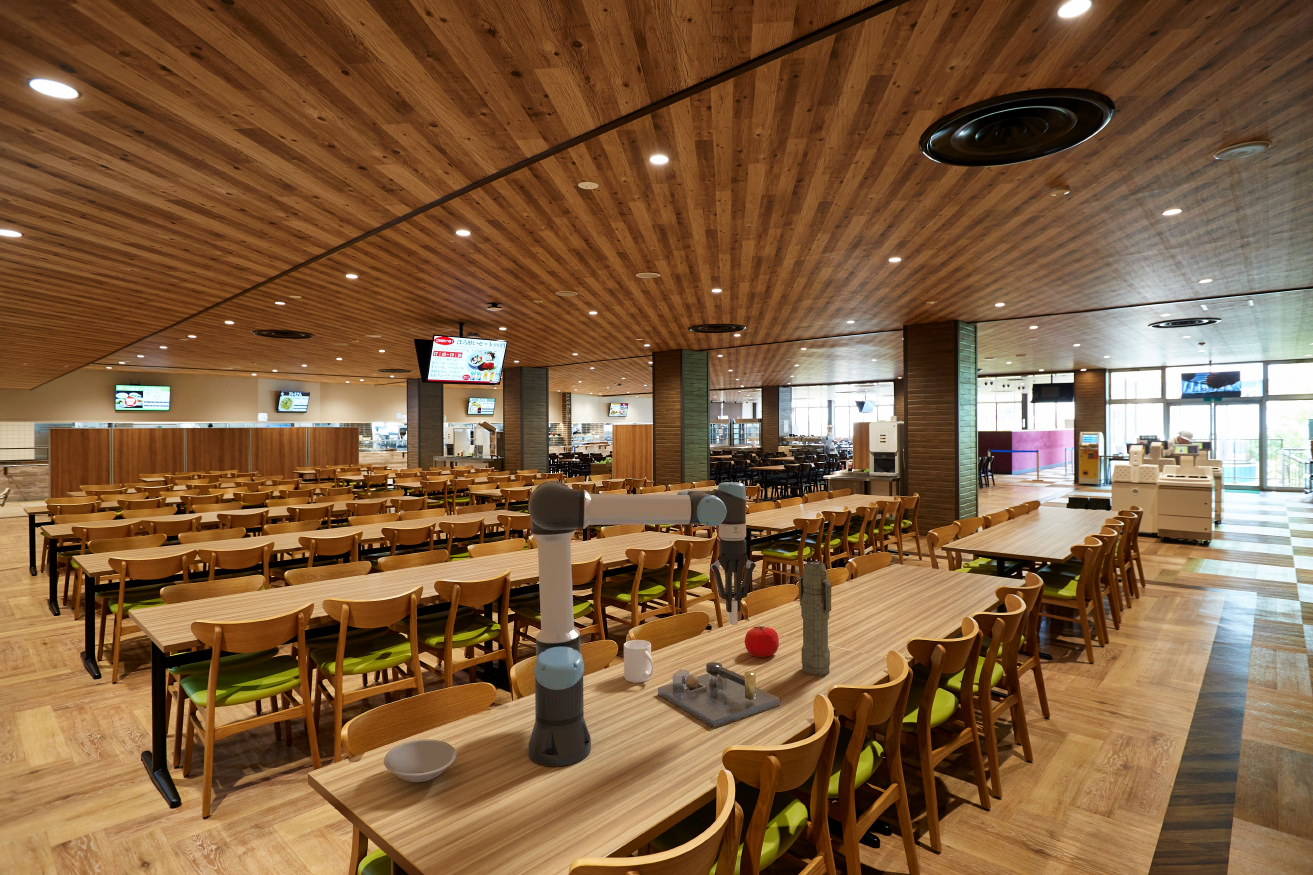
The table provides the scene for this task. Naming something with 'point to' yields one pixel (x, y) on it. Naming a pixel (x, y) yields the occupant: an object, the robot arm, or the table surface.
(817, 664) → the thermos
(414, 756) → the dish
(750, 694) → the lever
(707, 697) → the bench plate
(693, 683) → the tan wooden ball
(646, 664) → the mug
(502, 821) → the table surface
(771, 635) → the tomato
